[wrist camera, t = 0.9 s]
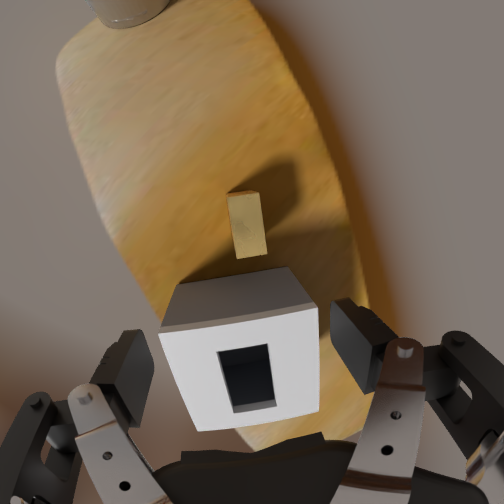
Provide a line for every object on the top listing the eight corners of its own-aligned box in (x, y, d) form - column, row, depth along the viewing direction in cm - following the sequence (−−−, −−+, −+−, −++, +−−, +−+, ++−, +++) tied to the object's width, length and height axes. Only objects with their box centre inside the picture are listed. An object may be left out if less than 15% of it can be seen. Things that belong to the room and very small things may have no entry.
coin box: (176, 284, 29) (158, 333, 19) (287, 266, 29) (317, 307, 20) (201, 371, 32) (197, 431, 22) (295, 355, 33) (318, 411, 23)
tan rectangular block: (225, 193, 27) (227, 197, 21) (250, 189, 27) (258, 192, 21) (233, 242, 28) (236, 259, 22) (257, 238, 28) (267, 253, 23)
